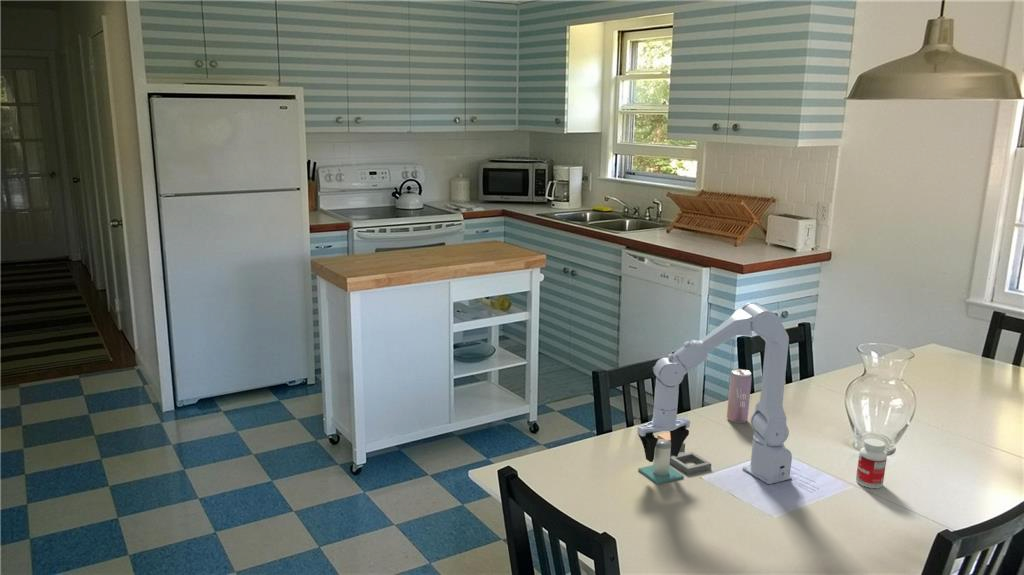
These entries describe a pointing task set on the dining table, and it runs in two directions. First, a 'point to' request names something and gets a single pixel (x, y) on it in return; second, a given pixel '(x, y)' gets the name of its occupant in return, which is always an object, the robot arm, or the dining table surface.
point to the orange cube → (664, 436)
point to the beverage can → (739, 396)
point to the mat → (657, 478)
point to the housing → (688, 456)
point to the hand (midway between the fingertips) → (661, 457)
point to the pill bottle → (871, 464)
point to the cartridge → (662, 457)
